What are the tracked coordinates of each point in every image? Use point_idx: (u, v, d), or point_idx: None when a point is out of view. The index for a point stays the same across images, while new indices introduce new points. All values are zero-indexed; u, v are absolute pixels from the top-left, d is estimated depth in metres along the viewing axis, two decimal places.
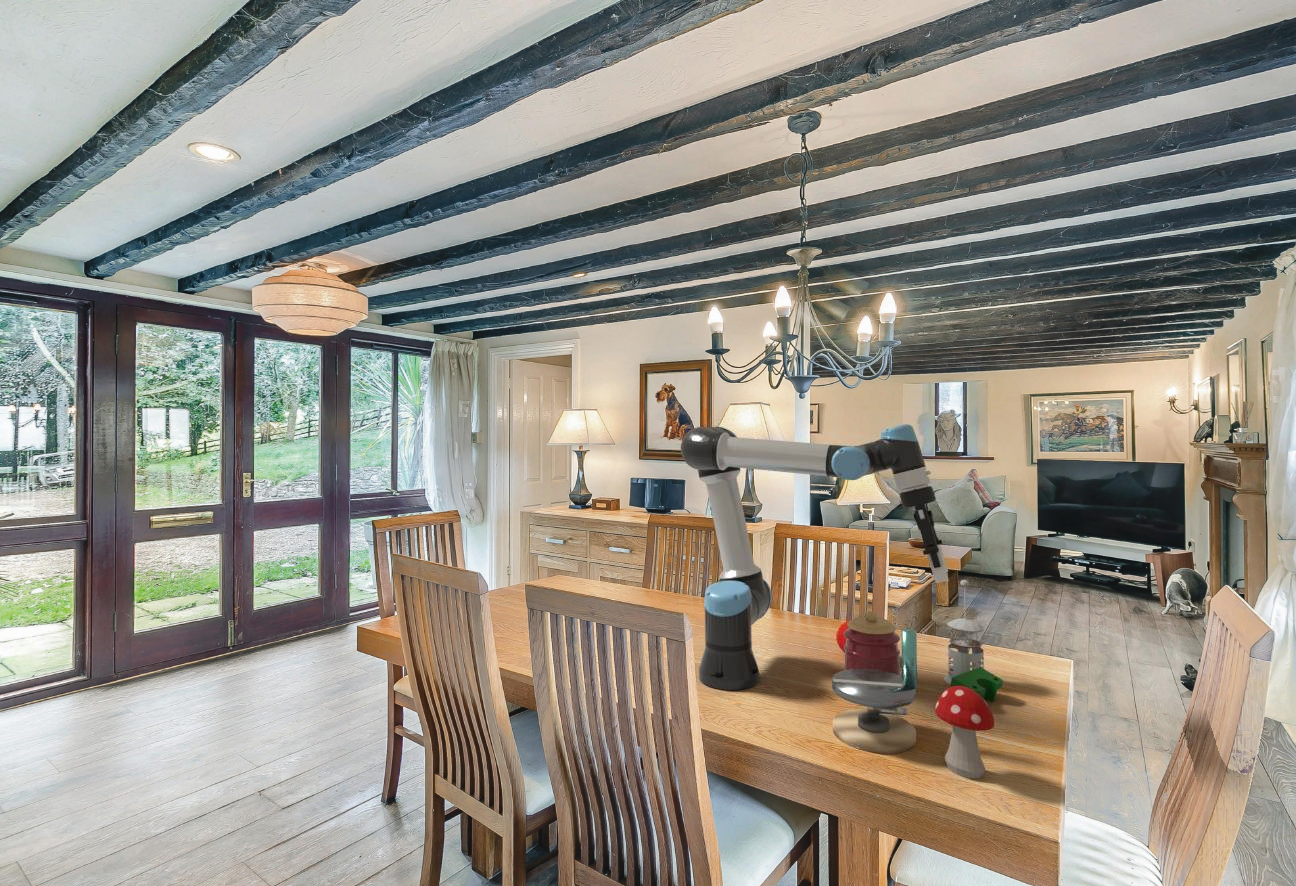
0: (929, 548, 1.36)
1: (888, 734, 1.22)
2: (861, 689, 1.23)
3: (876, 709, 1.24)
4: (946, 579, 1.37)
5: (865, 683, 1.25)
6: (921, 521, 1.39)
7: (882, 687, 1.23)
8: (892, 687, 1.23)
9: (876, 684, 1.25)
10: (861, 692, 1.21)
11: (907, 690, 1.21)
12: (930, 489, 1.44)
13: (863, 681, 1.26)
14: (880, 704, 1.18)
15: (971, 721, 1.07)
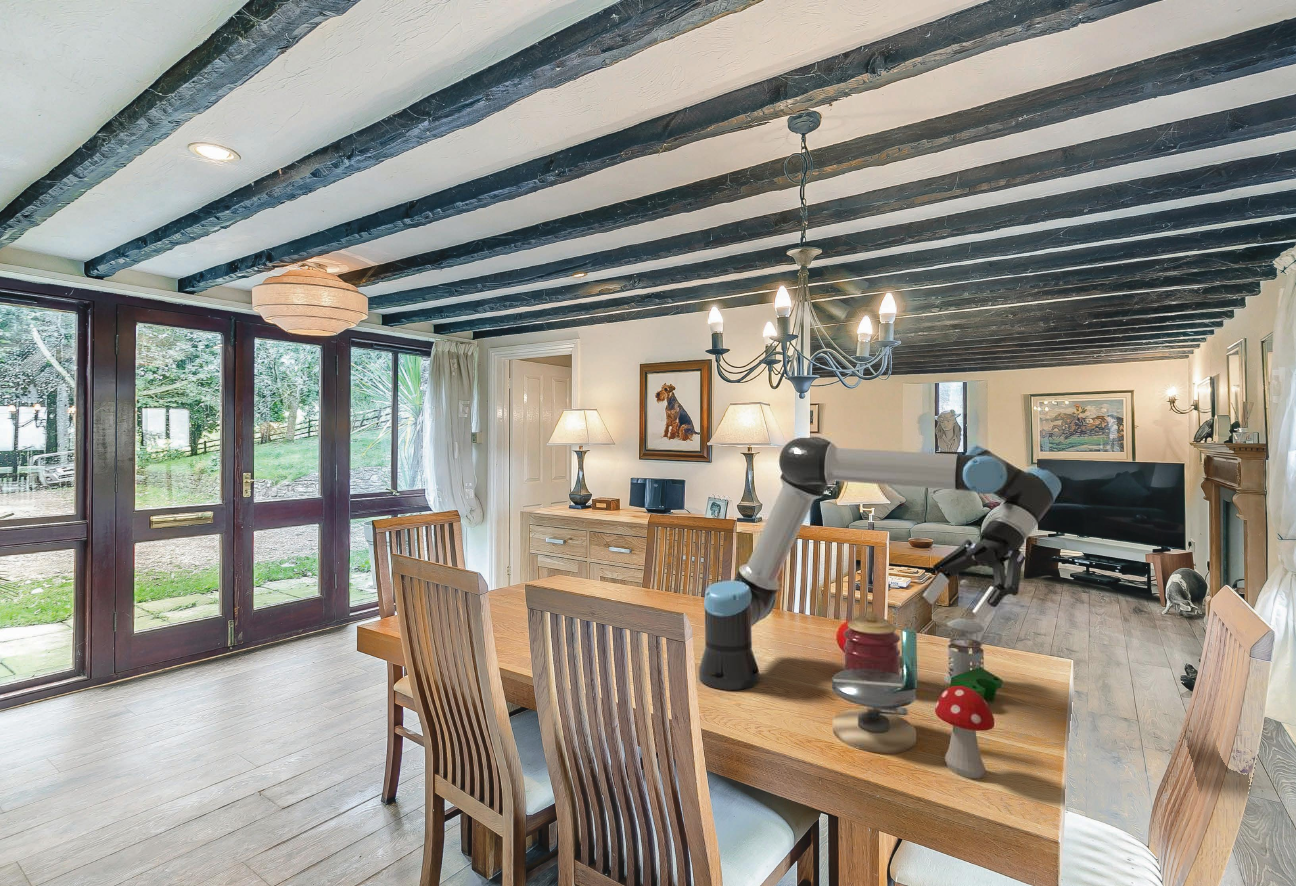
0: (1013, 587, 1.19)
1: (888, 734, 1.22)
2: (861, 689, 1.23)
3: (876, 709, 1.24)
4: (983, 618, 1.20)
5: (865, 683, 1.25)
6: (1016, 561, 1.22)
7: (882, 687, 1.23)
8: (892, 687, 1.23)
9: (876, 684, 1.25)
10: (861, 692, 1.21)
11: (907, 690, 1.21)
12: None
13: (863, 681, 1.26)
14: (880, 704, 1.18)
15: (971, 721, 1.07)
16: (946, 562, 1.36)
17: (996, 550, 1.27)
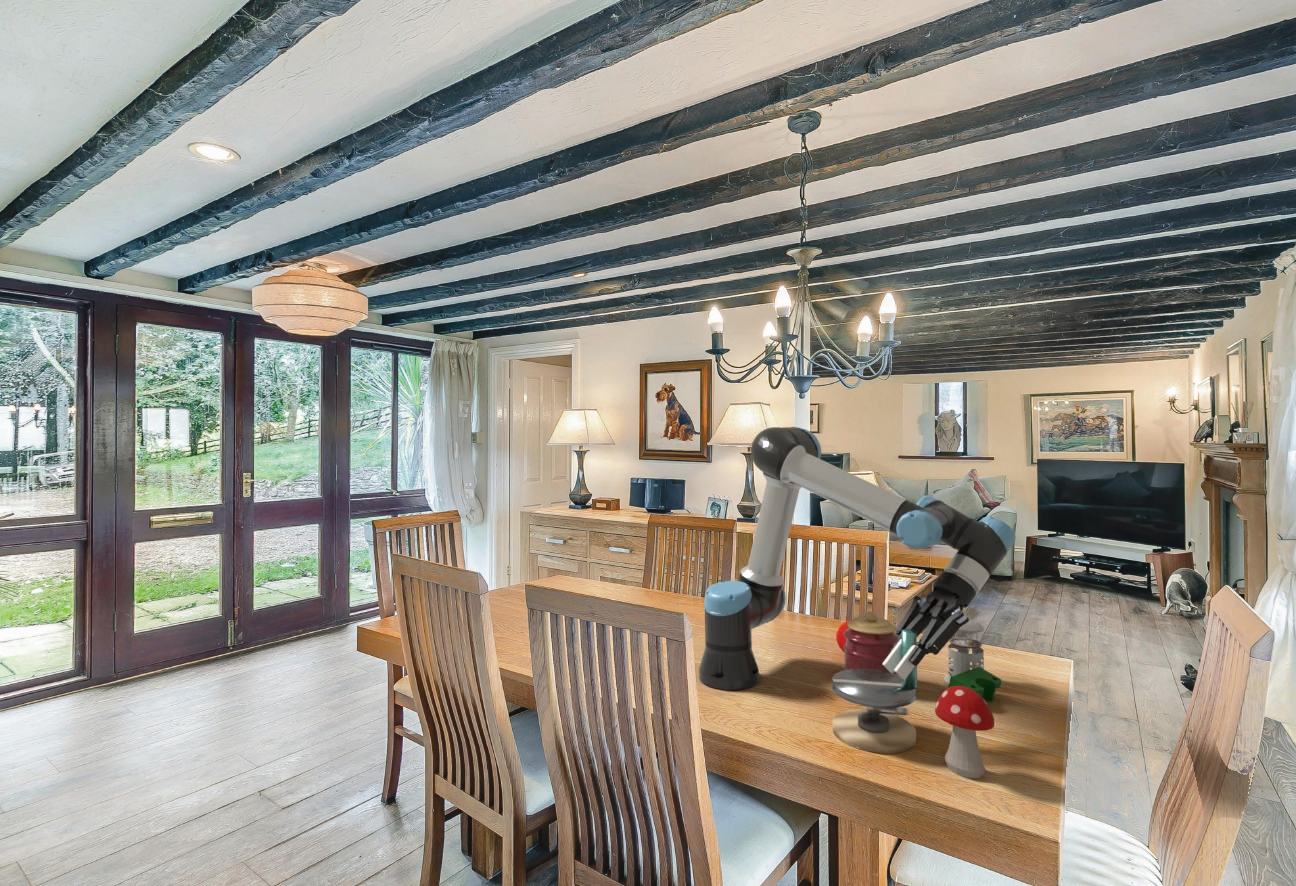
0: (933, 648, 1.19)
1: (888, 734, 1.22)
2: (861, 689, 1.23)
3: (876, 709, 1.24)
4: (904, 677, 1.21)
5: (865, 683, 1.25)
6: (954, 623, 1.20)
7: (882, 687, 1.23)
8: (892, 687, 1.23)
9: (876, 684, 1.25)
10: (861, 692, 1.21)
11: (907, 690, 1.21)
12: None
13: (863, 681, 1.26)
14: (880, 704, 1.18)
15: (971, 721, 1.07)
16: (906, 623, 1.28)
17: (948, 601, 1.24)
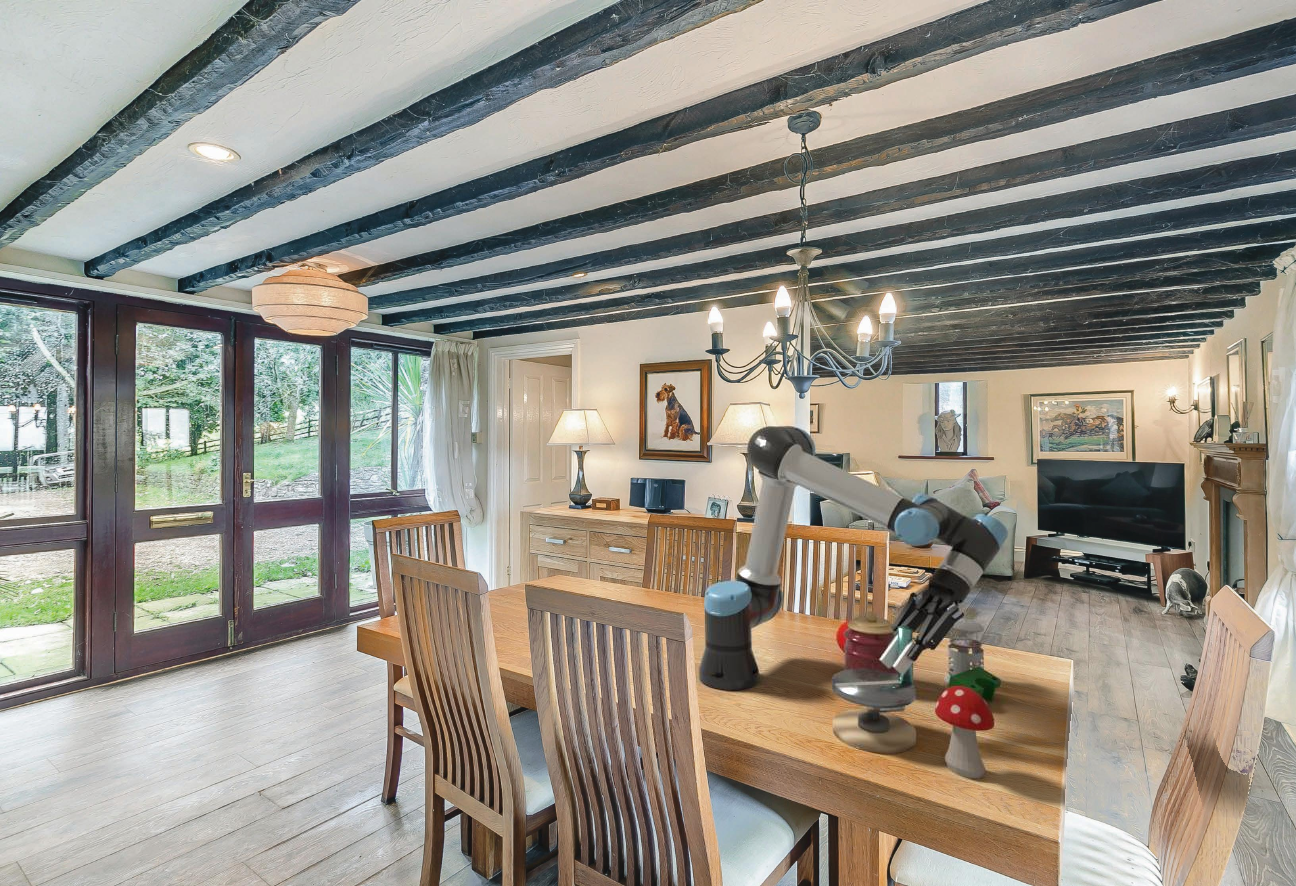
0: (930, 644, 1.22)
1: (888, 734, 1.22)
2: (868, 690, 1.22)
3: (877, 709, 1.24)
4: (903, 672, 1.23)
5: (866, 684, 1.25)
6: (949, 618, 1.23)
7: (884, 686, 1.24)
8: (893, 685, 1.24)
9: (877, 684, 1.25)
10: (872, 694, 1.20)
11: (908, 686, 1.23)
12: None
13: (863, 682, 1.26)
14: (894, 704, 1.18)
15: (971, 721, 1.07)
16: (902, 619, 1.31)
17: (943, 597, 1.27)
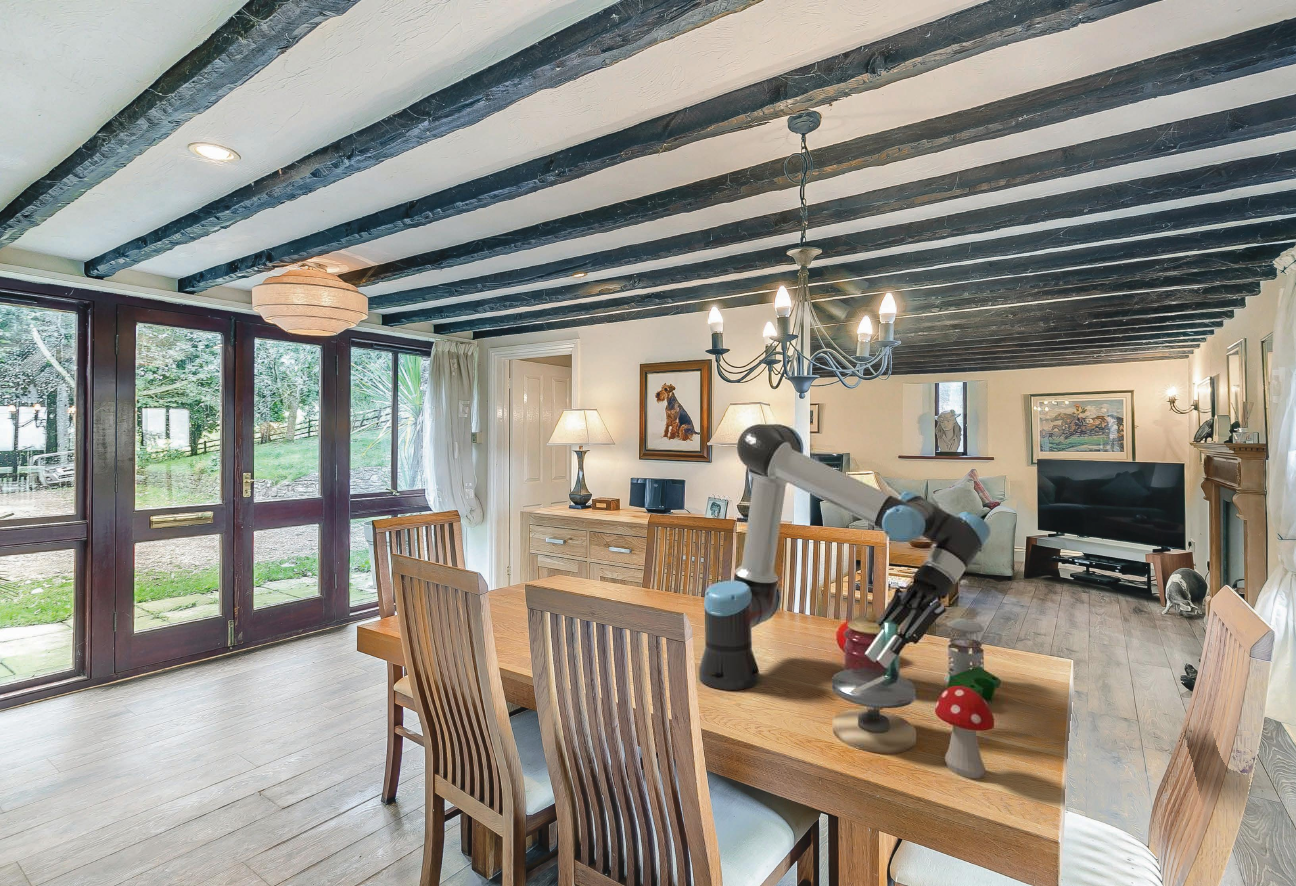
0: (913, 637, 1.25)
1: (888, 734, 1.22)
2: (881, 691, 1.21)
3: (879, 708, 1.25)
4: (886, 665, 1.27)
5: (870, 685, 1.24)
6: (932, 613, 1.26)
7: (886, 684, 1.25)
8: (889, 680, 1.26)
9: (877, 683, 1.25)
10: (890, 695, 1.20)
11: (901, 679, 1.27)
12: None
13: (866, 684, 1.25)
14: (911, 700, 1.20)
15: (971, 721, 1.07)
16: (887, 615, 1.35)
17: (926, 593, 1.30)
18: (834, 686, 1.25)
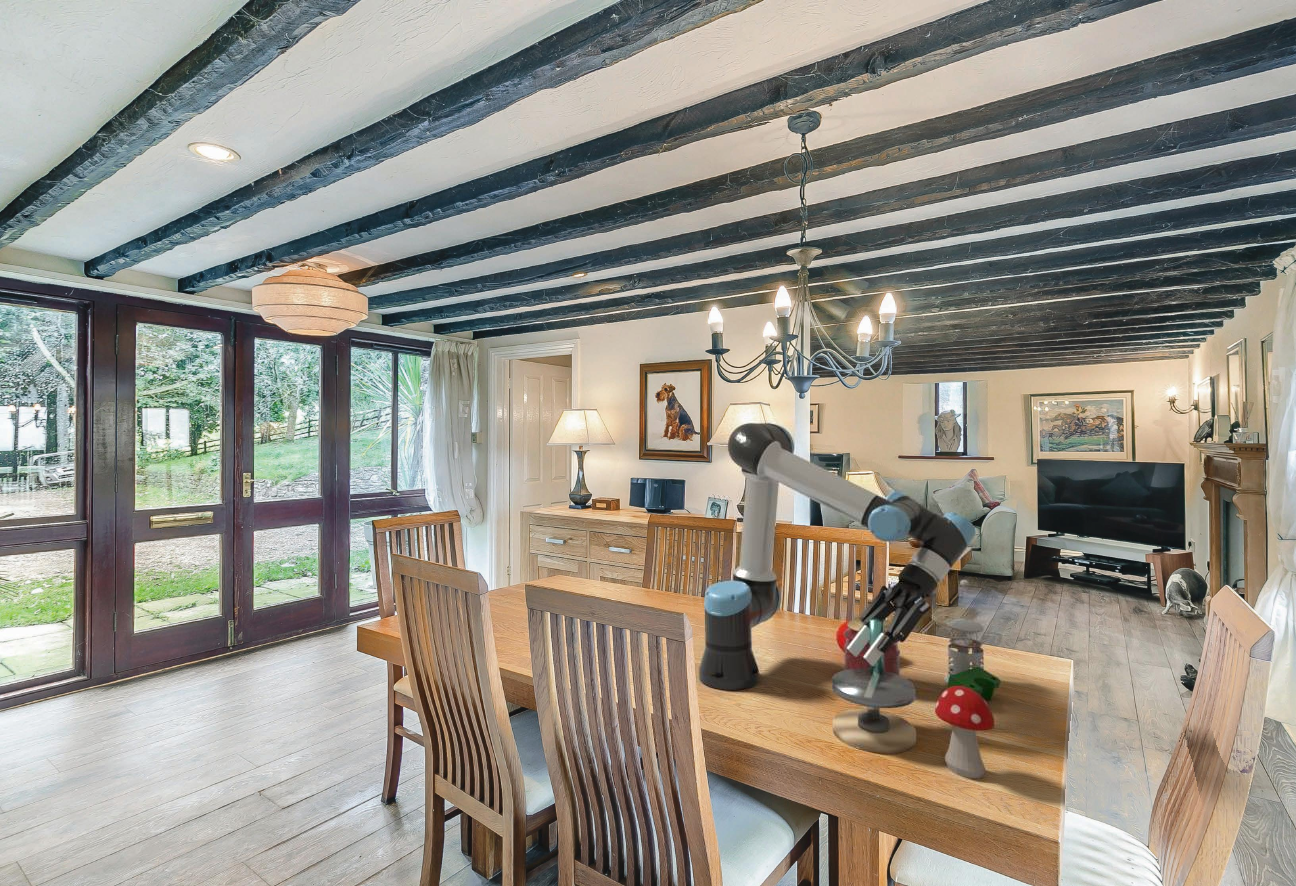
0: (900, 636, 1.26)
1: (888, 734, 1.22)
2: (889, 690, 1.22)
3: None
4: (873, 663, 1.28)
5: (874, 685, 1.24)
6: (917, 611, 1.28)
7: (884, 682, 1.26)
8: (882, 678, 1.28)
9: (876, 682, 1.26)
10: (900, 692, 1.21)
11: (890, 674, 1.30)
12: None
13: (870, 685, 1.24)
14: (915, 694, 1.22)
15: (971, 721, 1.07)
16: (870, 611, 1.37)
17: (910, 592, 1.32)
18: (843, 693, 1.22)
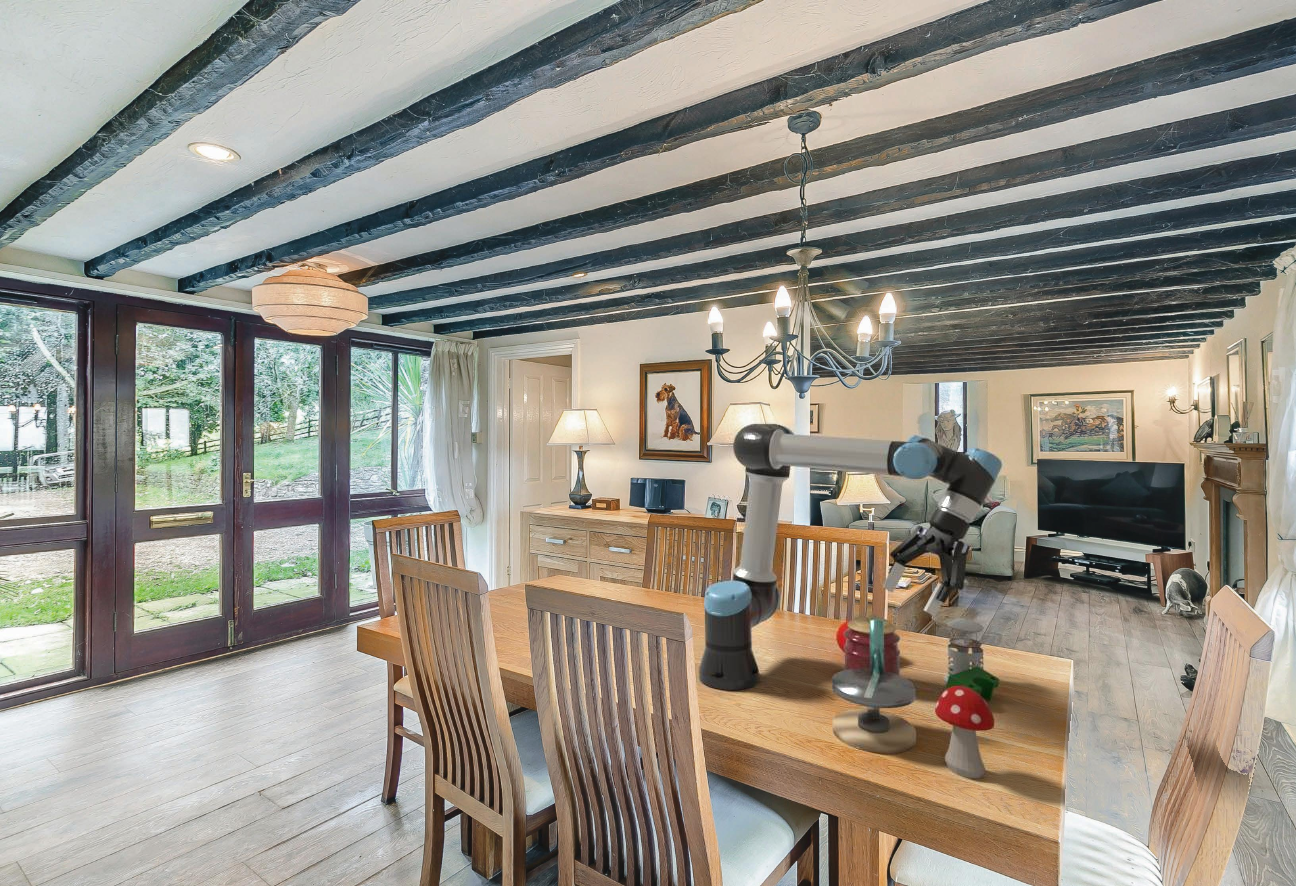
0: (958, 584, 1.25)
1: (888, 734, 1.22)
2: (890, 690, 1.22)
3: None
4: (934, 614, 1.28)
5: (874, 685, 1.24)
6: (961, 554, 1.28)
7: (884, 682, 1.26)
8: (882, 678, 1.28)
9: (876, 682, 1.26)
10: (900, 692, 1.21)
11: (890, 674, 1.30)
12: None
13: (870, 685, 1.24)
14: (915, 694, 1.22)
15: (971, 721, 1.07)
16: (901, 550, 1.42)
17: (943, 541, 1.32)
18: (843, 693, 1.22)
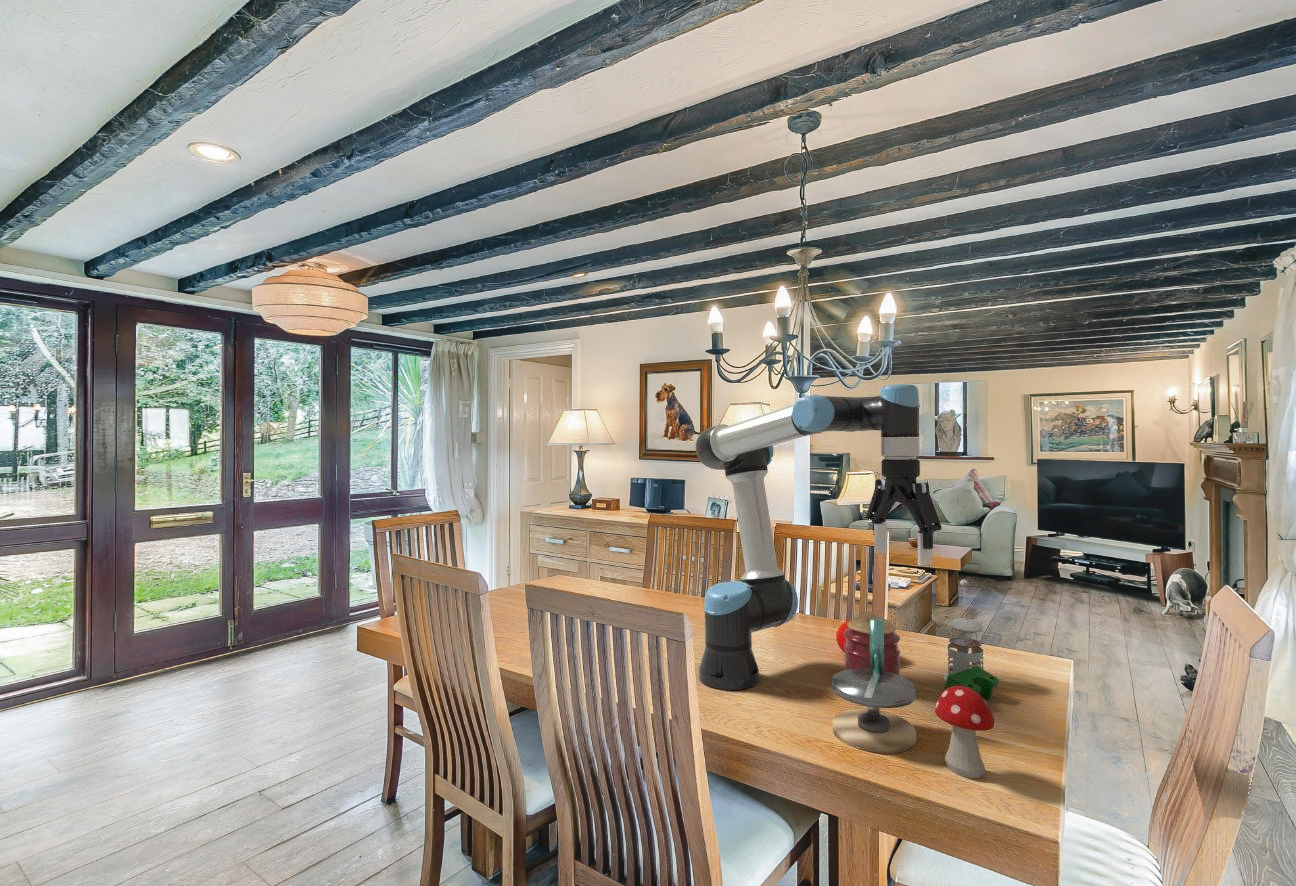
0: (935, 526, 1.20)
1: (888, 734, 1.22)
2: (890, 690, 1.22)
3: None
4: (930, 562, 1.23)
5: (874, 685, 1.24)
6: (923, 495, 1.23)
7: (884, 682, 1.26)
8: (882, 678, 1.28)
9: (876, 682, 1.26)
10: (900, 692, 1.21)
11: (890, 674, 1.30)
12: None
13: (870, 685, 1.24)
14: (915, 694, 1.22)
15: (971, 721, 1.07)
16: (873, 509, 1.37)
17: (902, 488, 1.27)
18: (843, 693, 1.22)
